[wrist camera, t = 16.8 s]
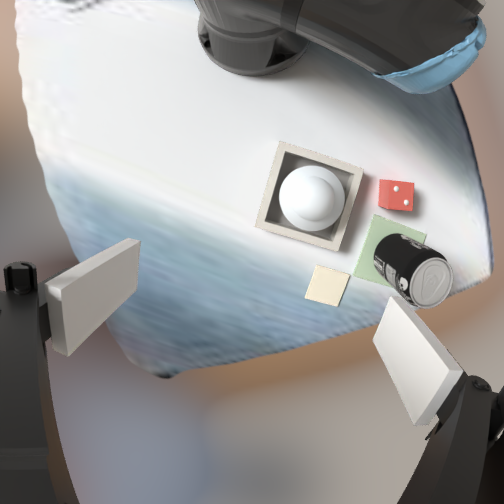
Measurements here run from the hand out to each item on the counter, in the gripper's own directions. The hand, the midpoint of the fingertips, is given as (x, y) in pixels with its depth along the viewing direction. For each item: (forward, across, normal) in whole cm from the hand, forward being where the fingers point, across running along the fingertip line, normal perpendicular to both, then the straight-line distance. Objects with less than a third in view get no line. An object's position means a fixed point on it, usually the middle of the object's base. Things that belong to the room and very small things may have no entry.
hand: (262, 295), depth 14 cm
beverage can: (+25, +18, -1) cm, 31 cm away
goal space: (+26, +18, -1) cm, 31 cm away
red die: (+26, +16, +7) cm, 31 cm away
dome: (+24, +4, +4) cm, 24 cm away
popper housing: (+26, +4, +4) cm, 26 cm away
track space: (+25, +10, -8) cm, 28 cm away
